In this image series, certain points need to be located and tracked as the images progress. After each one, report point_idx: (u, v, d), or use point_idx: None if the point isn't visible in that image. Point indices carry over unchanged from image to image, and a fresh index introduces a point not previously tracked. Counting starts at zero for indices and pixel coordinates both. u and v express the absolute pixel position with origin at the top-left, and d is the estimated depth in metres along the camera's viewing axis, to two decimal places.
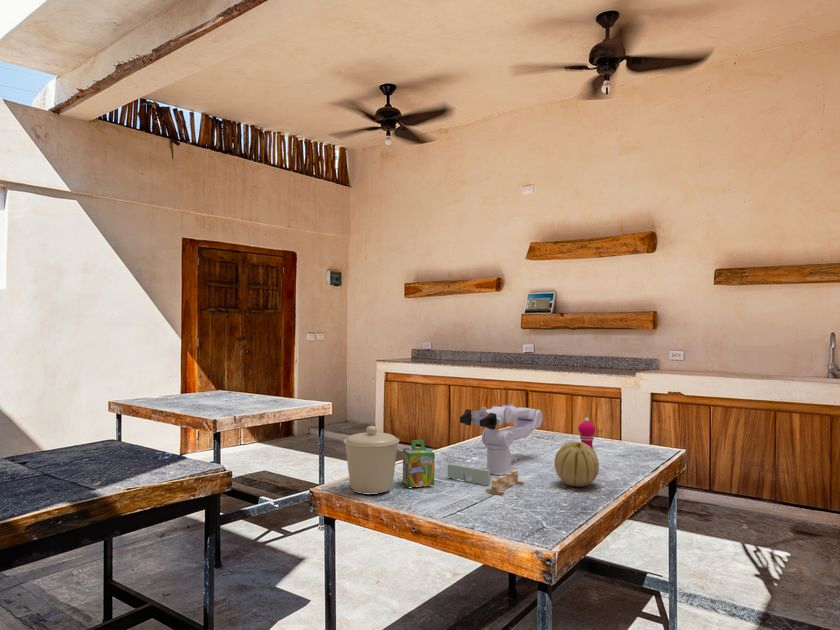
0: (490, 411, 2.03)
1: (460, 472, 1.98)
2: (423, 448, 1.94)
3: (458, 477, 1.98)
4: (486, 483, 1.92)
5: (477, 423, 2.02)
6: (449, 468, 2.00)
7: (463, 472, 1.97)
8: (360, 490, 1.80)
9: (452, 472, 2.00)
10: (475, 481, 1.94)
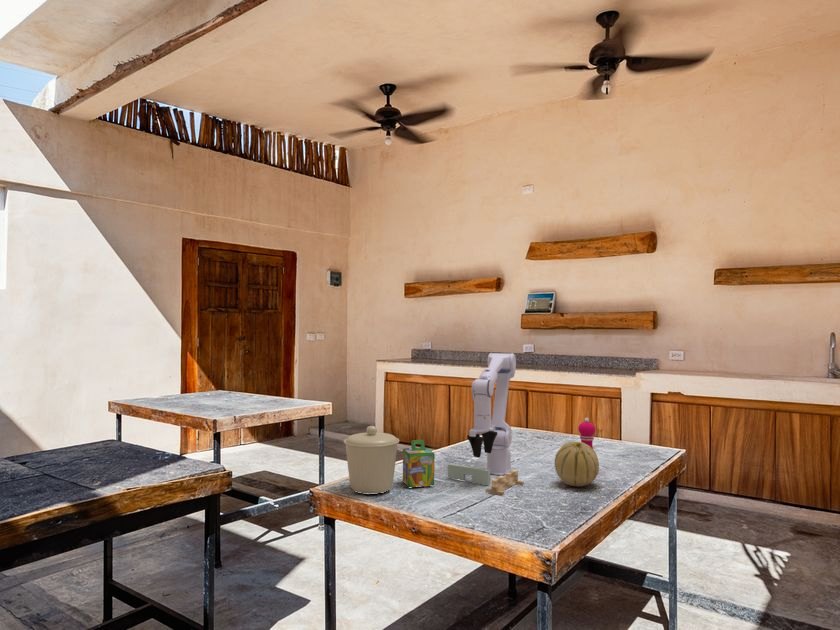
0: (490, 420, 1.94)
1: (460, 472, 1.98)
2: (423, 448, 1.94)
3: (458, 477, 1.98)
4: (486, 483, 1.92)
5: None
6: (449, 468, 2.00)
7: (463, 472, 1.97)
8: (360, 490, 1.80)
9: (452, 472, 2.00)
10: (475, 481, 1.94)
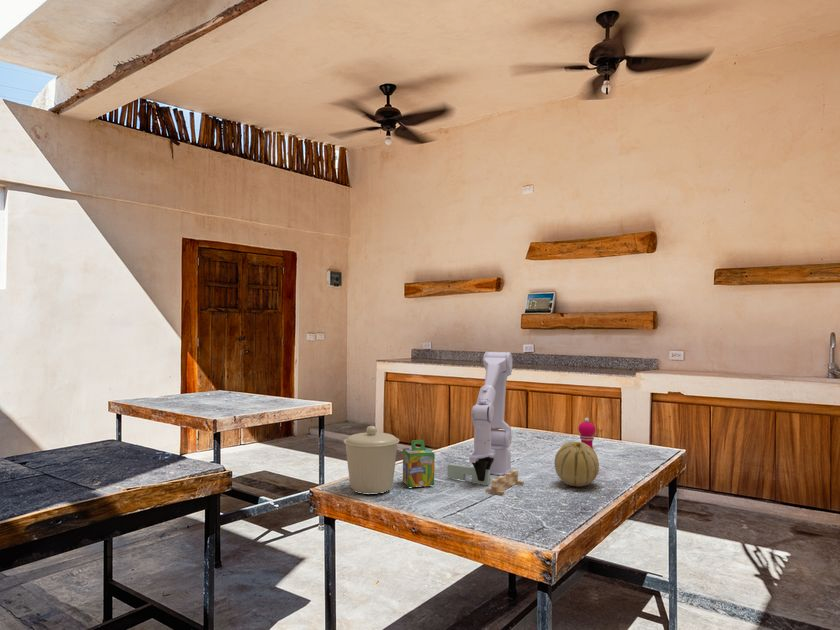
0: (490, 446, 1.94)
1: (460, 472, 1.98)
2: (423, 448, 1.94)
3: (458, 477, 1.98)
4: (486, 483, 1.92)
5: None
6: (449, 468, 2.00)
7: (463, 472, 1.97)
8: (360, 490, 1.80)
9: (452, 472, 2.00)
10: (475, 481, 1.94)
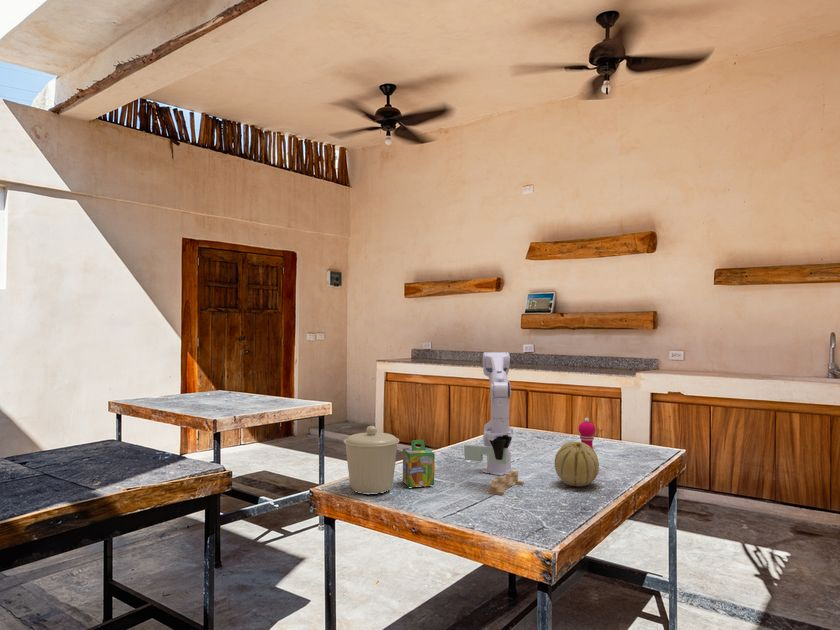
0: None
1: (477, 452, 1.94)
2: (423, 448, 1.94)
3: (476, 458, 1.94)
4: (504, 461, 1.88)
5: None
6: (465, 449, 1.97)
7: (480, 452, 1.93)
8: (360, 490, 1.80)
9: (469, 453, 1.96)
10: (493, 460, 1.90)
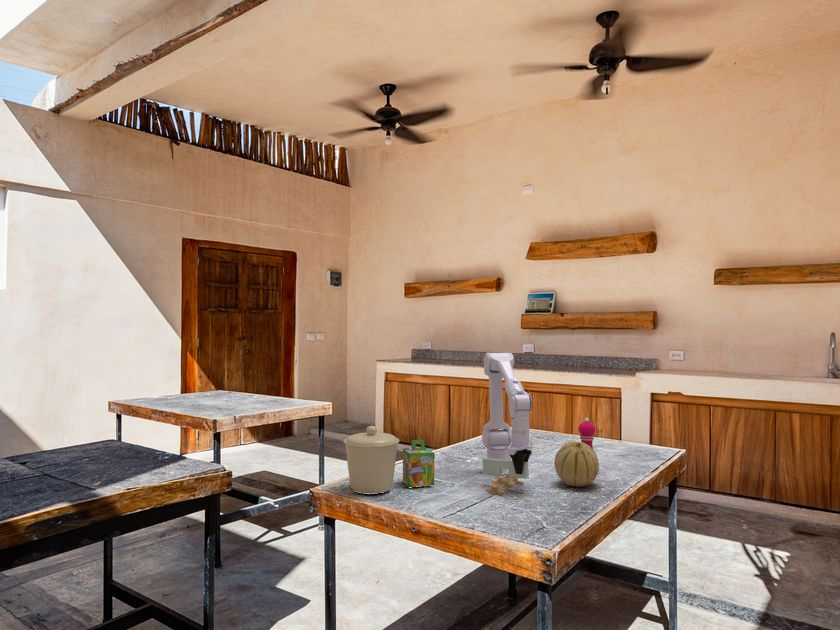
0: None
1: (496, 466, 1.90)
2: (423, 448, 1.94)
3: (494, 472, 1.90)
4: (524, 476, 1.84)
5: None
6: (484, 463, 1.92)
7: (499, 466, 1.89)
8: (360, 490, 1.80)
9: (487, 467, 1.92)
10: (513, 475, 1.86)
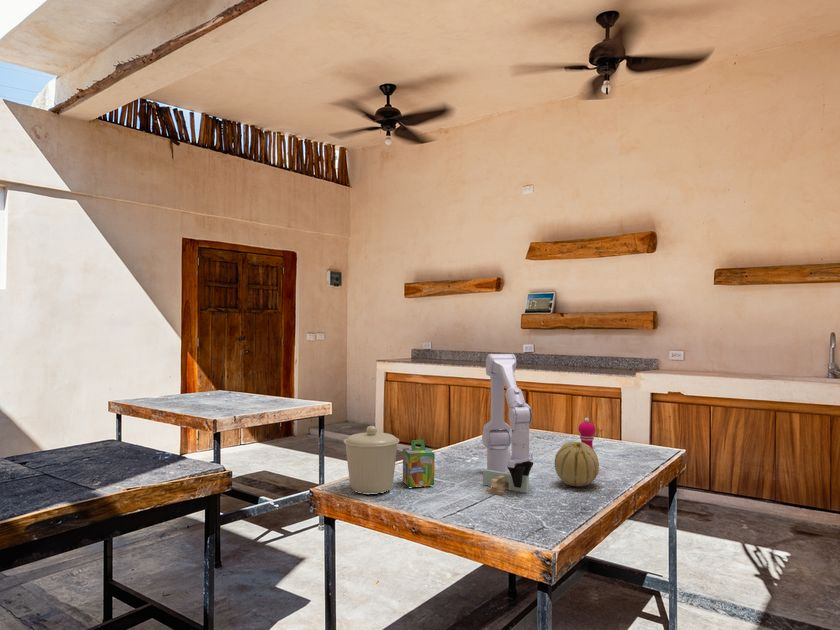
0: None
1: None
2: (423, 448, 1.94)
3: None
4: (525, 490, 1.84)
5: None
6: (484, 474, 1.92)
7: None
8: (360, 490, 1.80)
9: (488, 478, 1.92)
10: (513, 488, 1.86)
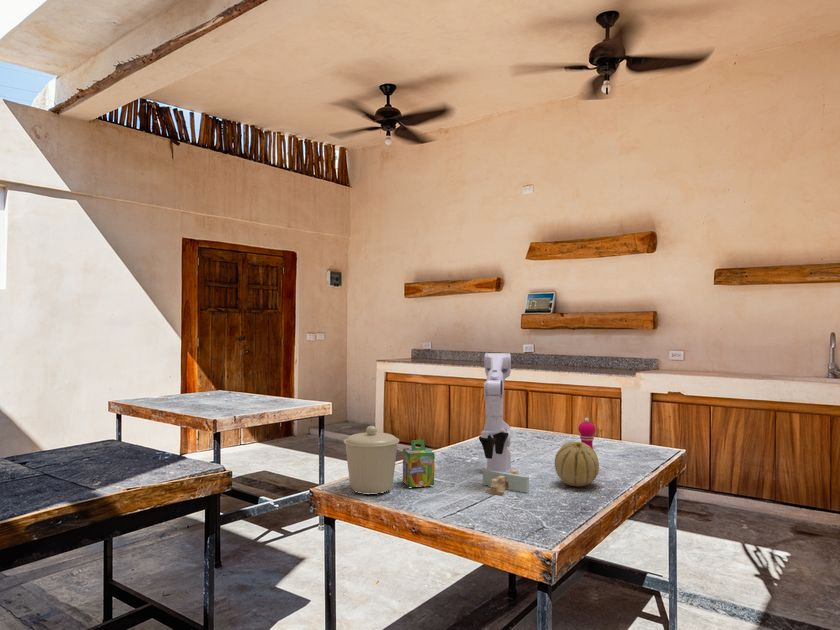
0: None
1: None
2: (423, 448, 1.94)
3: None
4: (525, 490, 1.84)
5: None
6: (484, 474, 1.92)
7: None
8: (360, 490, 1.80)
9: (488, 478, 1.92)
10: (513, 488, 1.86)
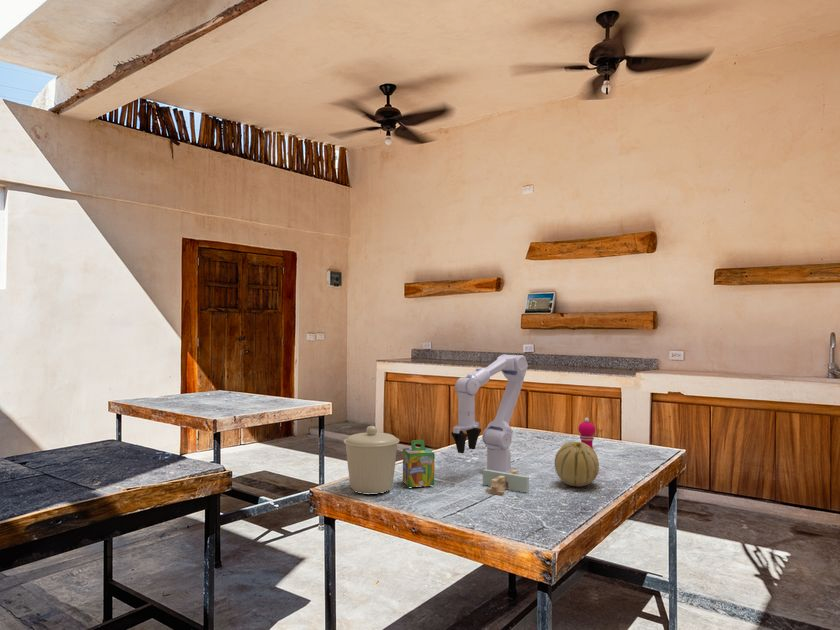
0: (474, 418, 2.00)
1: None
2: (423, 448, 1.94)
3: None
4: (525, 490, 1.84)
5: None
6: (484, 474, 1.92)
7: None
8: (360, 490, 1.80)
9: (488, 478, 1.92)
10: (513, 488, 1.86)
